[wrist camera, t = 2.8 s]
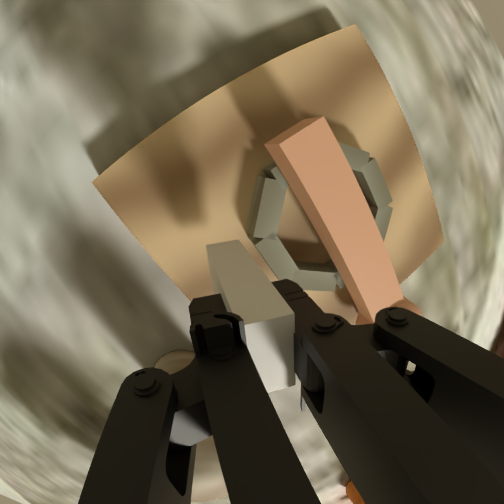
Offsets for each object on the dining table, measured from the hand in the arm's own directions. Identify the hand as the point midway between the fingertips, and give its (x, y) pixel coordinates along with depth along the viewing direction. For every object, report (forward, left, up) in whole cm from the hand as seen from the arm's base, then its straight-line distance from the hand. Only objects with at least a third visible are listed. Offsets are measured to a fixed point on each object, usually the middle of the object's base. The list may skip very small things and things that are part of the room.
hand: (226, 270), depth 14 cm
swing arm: (+4, +6, -1) cm, 7 cm away
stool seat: (+2, +6, -5) cm, 8 cm away
